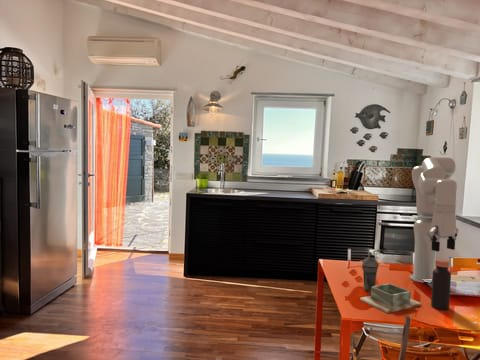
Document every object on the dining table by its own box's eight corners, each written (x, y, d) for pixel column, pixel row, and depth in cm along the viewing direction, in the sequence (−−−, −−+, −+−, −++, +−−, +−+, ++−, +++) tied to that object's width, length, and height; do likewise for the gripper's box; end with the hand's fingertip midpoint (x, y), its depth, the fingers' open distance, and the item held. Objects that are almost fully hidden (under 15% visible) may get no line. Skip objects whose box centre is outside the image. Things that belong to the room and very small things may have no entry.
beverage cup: (378, 292, 171) (380, 250, 170) (362, 291, 172) (363, 249, 171) (375, 287, 178) (377, 246, 177) (360, 286, 179) (361, 245, 178)
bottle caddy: (392, 293, 170) (393, 280, 170) (421, 305, 157) (421, 291, 156) (360, 299, 161) (360, 286, 161) (387, 313, 148) (387, 298, 148)
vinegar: (434, 302, 160) (436, 257, 159) (451, 307, 155) (453, 260, 154) (428, 306, 155) (430, 260, 154) (446, 311, 150) (448, 263, 149)
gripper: (449, 207, 160) (448, 246, 161) (423, 208, 152) (421, 249, 153) (467, 209, 153) (464, 250, 154) (439, 211, 146) (437, 253, 146)
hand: (443, 249), depth 154 cm, fingers open, 9 cm apart
